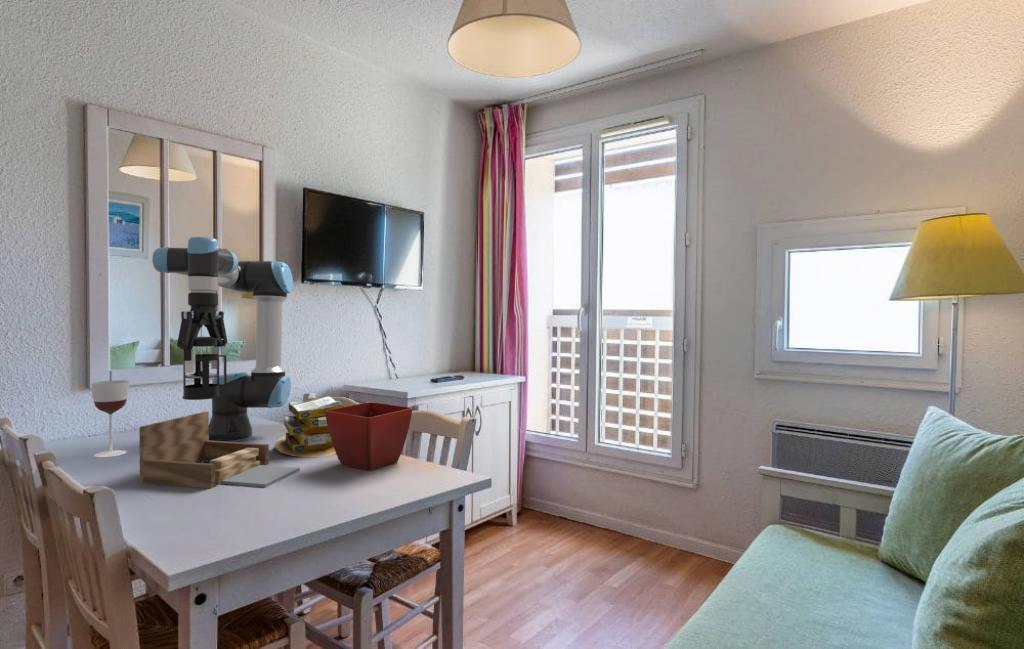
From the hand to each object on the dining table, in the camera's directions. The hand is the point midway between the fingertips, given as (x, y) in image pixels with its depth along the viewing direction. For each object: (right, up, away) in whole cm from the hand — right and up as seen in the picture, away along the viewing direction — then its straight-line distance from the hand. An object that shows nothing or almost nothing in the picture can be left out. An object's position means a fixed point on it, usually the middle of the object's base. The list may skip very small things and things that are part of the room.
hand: (203, 370), depth 160 cm
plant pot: (+44, -30, +12) cm, 55 cm away
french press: (0, -8, 0) cm, 8 cm away
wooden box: (+1, -29, 0) cm, 29 cm away
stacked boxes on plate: (+21, -29, +30) cm, 47 cm away
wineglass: (-41, -29, +20) cm, 54 cm away
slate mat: (+18, -29, -3) cm, 35 cm away
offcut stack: (+9, -30, -2) cm, 31 cm away
